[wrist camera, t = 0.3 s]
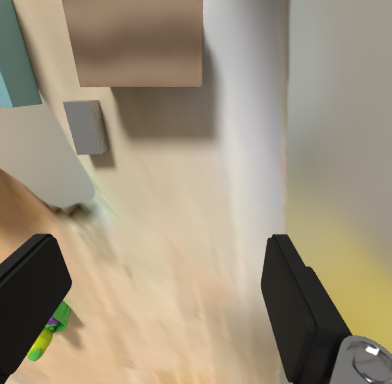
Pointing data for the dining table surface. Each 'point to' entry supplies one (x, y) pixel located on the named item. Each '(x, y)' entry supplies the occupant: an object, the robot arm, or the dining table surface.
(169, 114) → the dining table surface
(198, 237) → the dining table surface
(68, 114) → the bar
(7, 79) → the block
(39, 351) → the fruit basket
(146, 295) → the dining table surface
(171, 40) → the board
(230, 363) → the dining table surface
